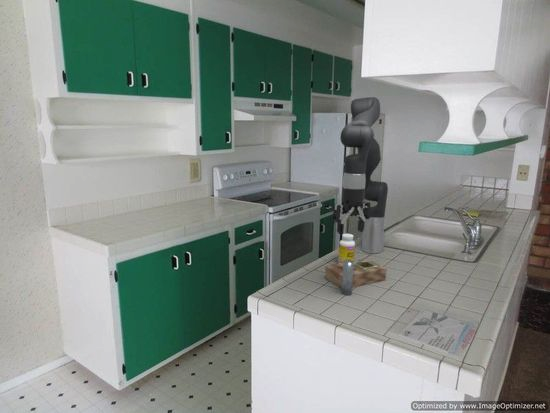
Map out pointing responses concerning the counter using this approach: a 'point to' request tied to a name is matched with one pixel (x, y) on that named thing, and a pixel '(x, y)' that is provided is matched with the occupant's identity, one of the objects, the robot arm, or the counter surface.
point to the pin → (347, 277)
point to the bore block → (357, 273)
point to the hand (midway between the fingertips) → (350, 232)
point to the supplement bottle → (346, 248)
